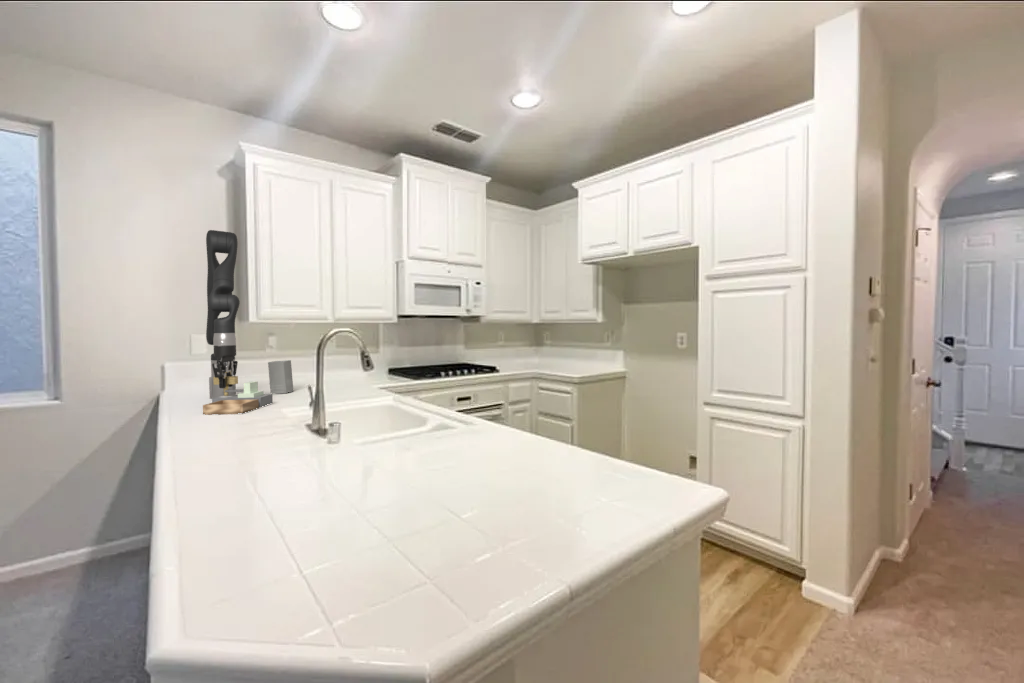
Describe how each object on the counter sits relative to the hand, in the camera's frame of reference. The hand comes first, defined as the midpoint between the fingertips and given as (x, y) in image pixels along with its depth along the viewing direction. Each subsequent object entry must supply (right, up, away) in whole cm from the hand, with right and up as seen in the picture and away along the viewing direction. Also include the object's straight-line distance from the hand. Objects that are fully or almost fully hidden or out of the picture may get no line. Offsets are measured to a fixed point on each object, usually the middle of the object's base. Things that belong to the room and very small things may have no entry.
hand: (225, 387), depth 174 cm
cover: (+9, -4, +1) cm, 10 cm away
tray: (+9, -8, -11) cm, 17 cm away
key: (+2, -3, 0) cm, 4 cm away
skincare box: (+1, -7, +39) cm, 40 cm away
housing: (+7, -8, +1) cm, 10 cm away
